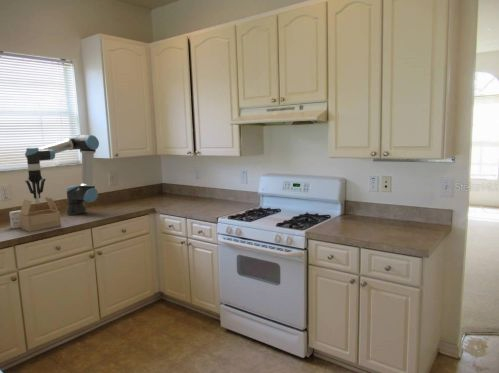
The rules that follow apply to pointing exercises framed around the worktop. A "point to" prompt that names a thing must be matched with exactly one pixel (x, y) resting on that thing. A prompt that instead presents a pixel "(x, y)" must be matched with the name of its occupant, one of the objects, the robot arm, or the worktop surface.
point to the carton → (40, 220)
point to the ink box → (15, 219)
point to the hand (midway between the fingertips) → (37, 202)
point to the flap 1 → (25, 207)
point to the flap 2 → (51, 203)
